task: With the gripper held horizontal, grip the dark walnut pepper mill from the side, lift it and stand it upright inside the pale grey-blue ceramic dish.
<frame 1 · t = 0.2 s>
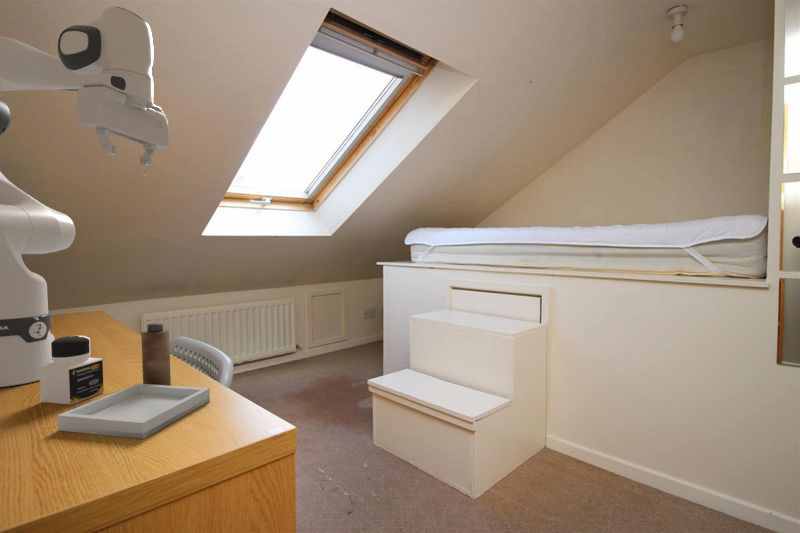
hand: (128, 160, 87), 48 cm above the table, tool pointing down, fingers open, 8 cm apart
walnut pepper mill: (157, 387, 88), on the table
medicine bottle: (73, 398, 83), on the table
pale dish: (140, 414, 74), on the table
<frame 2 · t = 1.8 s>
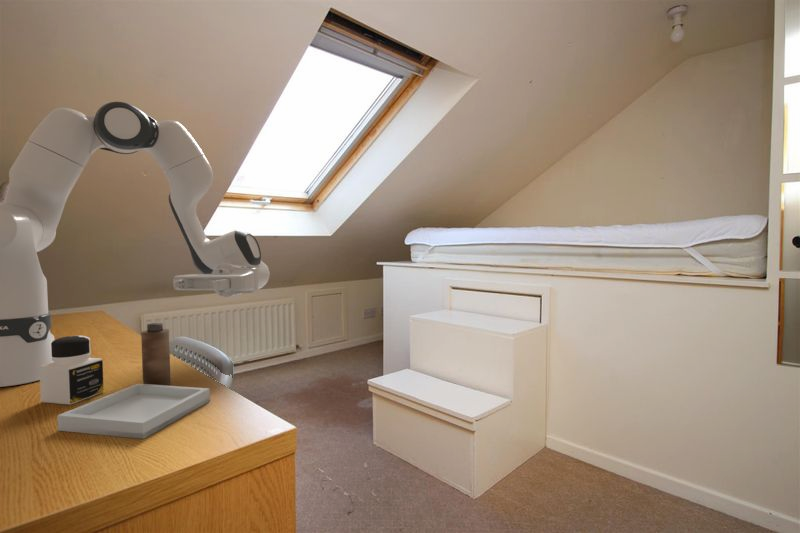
hand: (193, 285, 99), 21 cm above the table, tool horizontal, fingers open, 8 cm apart
nothing on the table moved.
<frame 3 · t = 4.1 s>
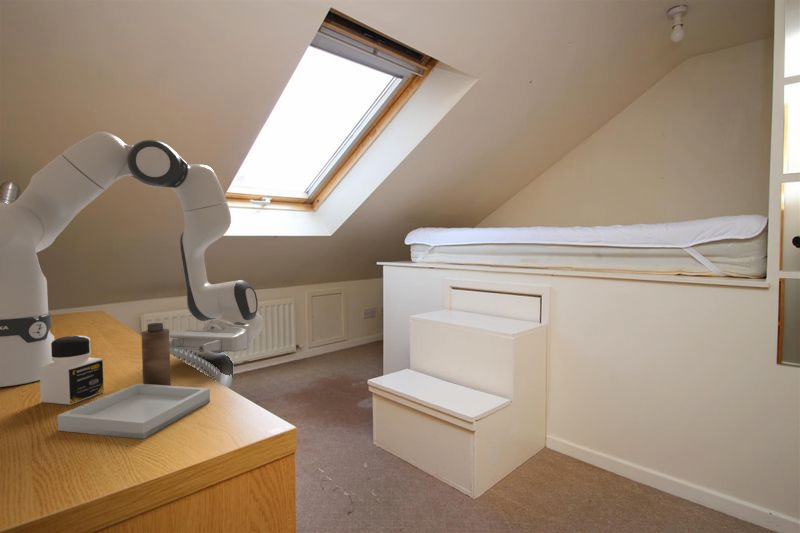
hand: (183, 347, 96), 6 cm above the table, tool horizontal, fingers open, 8 cm apart
nothing on the table moved.
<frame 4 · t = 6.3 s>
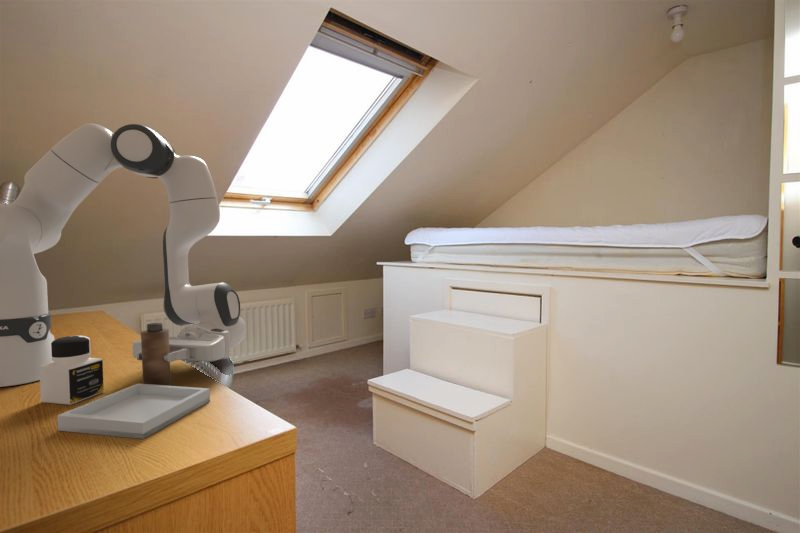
hand: (152, 357, 87), 7 cm above the table, tool horizontal, fingers closed on walnut pepper mill, 5 cm apart
walnut pepper mill: (157, 387, 88), on the table, touching gripper
everything else where it was.
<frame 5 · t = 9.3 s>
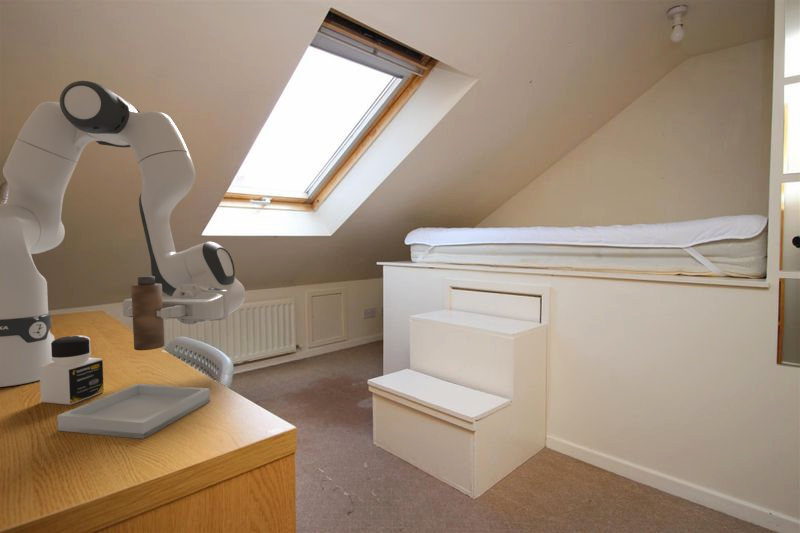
hand: (144, 313, 79), 17 cm above the table, tool horizontal, fingers closed on walnut pepper mill, 5 cm apart
walnut pepper mill: (149, 347, 80), point 10 cm above the table, touching gripper
everything else where it was.
when the fingers open (9 cm above the table, at t = 12.2 s): walnut pepper mill drops 1 cm, resting on pale dish.
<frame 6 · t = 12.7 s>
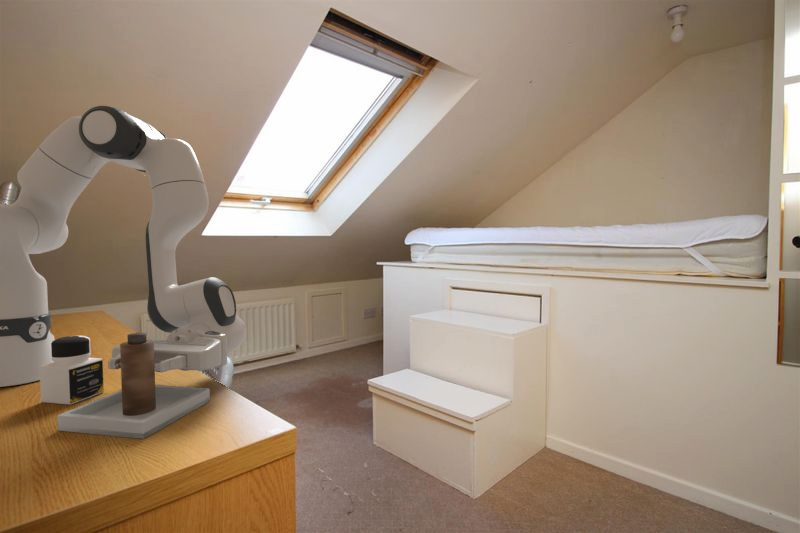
hand: (134, 366, 73), 9 cm above the table, tool horizontal, fingers open, 8 cm apart
walnut pepper mill: (139, 410, 74), point 1 cm above the table, touching pale dish
everything else where it was.
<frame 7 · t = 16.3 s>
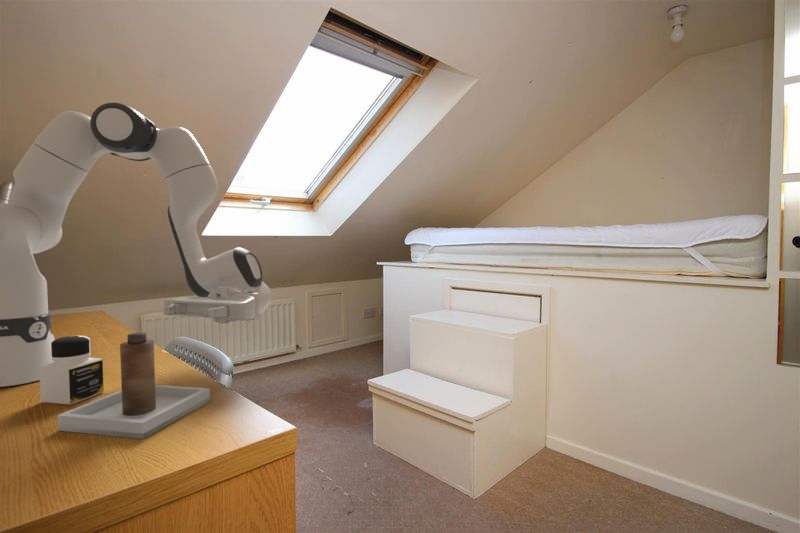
hand: (186, 312, 87), 16 cm above the table, tool horizontal, fingers open, 8 cm apart
nothing on the table moved.
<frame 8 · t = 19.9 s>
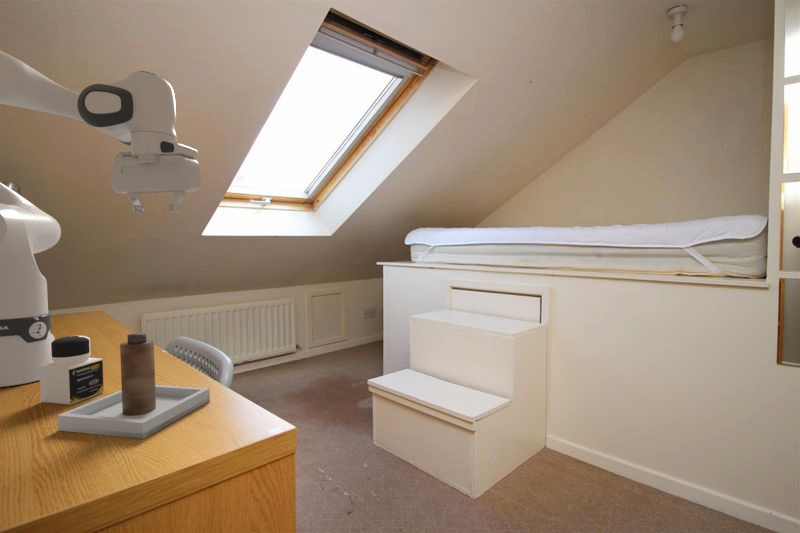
hand: (156, 213, 93), 37 cm above the table, tool pointing down, fingers open, 8 cm apart
nothing on the table moved.
at the end: walnut pepper mill inside the target area on the pale dish (0.2 cm from its centre), point 0.8 cm above the pale dish's base; walnut pepper mill tilted 0°; the gripper is holding nothing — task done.
